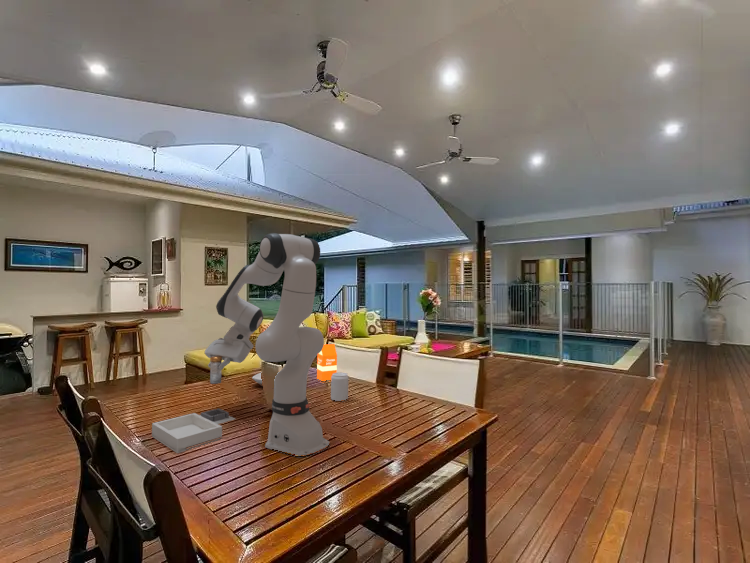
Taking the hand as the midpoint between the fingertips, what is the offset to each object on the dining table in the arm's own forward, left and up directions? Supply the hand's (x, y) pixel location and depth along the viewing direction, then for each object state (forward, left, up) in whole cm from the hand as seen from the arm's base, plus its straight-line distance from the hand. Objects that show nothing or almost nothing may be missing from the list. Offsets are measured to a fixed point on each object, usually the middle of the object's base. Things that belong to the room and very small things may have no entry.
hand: (214, 367), depth 152 cm
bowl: (+26, -49, -21) cm, 59 cm away
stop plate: (0, -1, -21) cm, 21 cm away
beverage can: (-16, -54, -21) cm, 60 cm away
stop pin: (0, -1, -6) cm, 6 cm away
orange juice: (+15, -75, -21) cm, 79 cm away
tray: (-9, +14, -21) cm, 27 cm away
